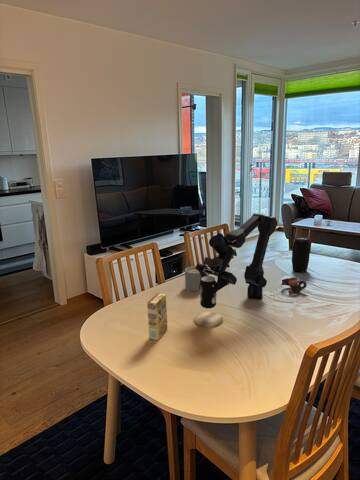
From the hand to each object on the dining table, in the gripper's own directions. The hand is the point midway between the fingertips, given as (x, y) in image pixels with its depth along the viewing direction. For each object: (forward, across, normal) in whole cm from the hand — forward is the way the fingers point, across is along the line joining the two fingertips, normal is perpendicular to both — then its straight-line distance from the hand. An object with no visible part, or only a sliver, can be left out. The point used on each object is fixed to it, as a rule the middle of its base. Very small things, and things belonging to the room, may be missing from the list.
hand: (205, 291), depth 146 cm
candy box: (+24, -6, -6) cm, 26 cm away
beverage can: (+4, 0, +6) cm, 7 cm away
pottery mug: (-27, +10, +47) cm, 55 cm away
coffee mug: (-7, -28, +27) cm, 39 cm away
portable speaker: (-48, -3, +68) cm, 83 cm away
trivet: (+9, 0, +10) cm, 13 cm away
